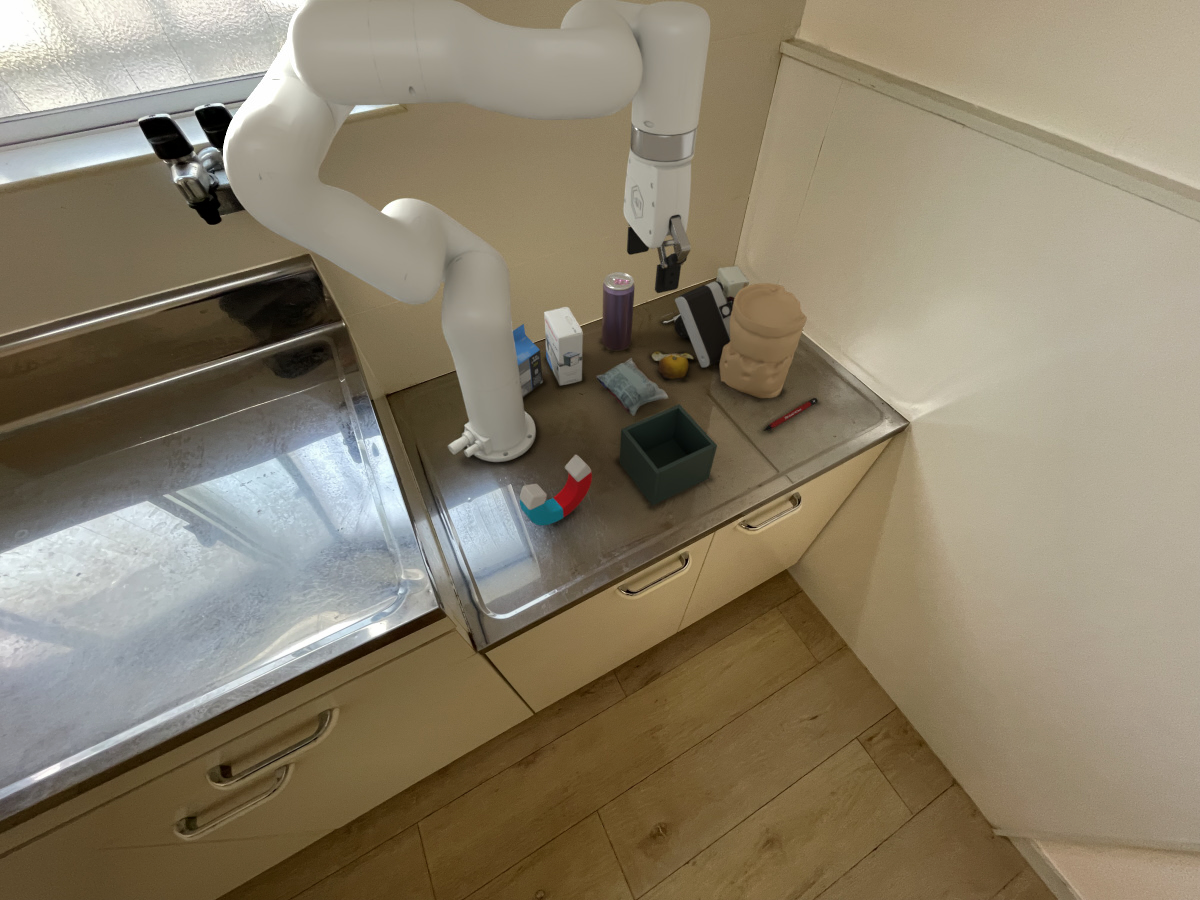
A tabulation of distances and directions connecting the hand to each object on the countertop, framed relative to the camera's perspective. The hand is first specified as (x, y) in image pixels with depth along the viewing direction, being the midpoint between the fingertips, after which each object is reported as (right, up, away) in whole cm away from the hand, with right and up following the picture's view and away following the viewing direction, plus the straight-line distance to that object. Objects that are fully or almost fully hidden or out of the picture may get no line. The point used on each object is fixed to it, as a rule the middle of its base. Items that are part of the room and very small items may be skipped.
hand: (651, 270), depth 78 cm
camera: (+10, -2, +34) cm, 35 cm away
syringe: (+10, +5, +45) cm, 46 cm away
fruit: (+8, -8, +35) cm, 37 cm away
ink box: (-14, -9, +34) cm, 38 cm away
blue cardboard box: (-22, -14, +30) cm, 40 cm away
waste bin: (+4, -28, +18) cm, 34 cm away
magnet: (-14, -35, +12) cm, 40 cm away
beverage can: (-4, -3, +39) cm, 39 cm away
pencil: (+28, -19, +26) cm, 43 cm away
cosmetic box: (+19, +2, +43) cm, 47 cm away
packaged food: (-1, -14, +30) cm, 33 cm away
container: (+22, -12, +32) cm, 40 cm away
